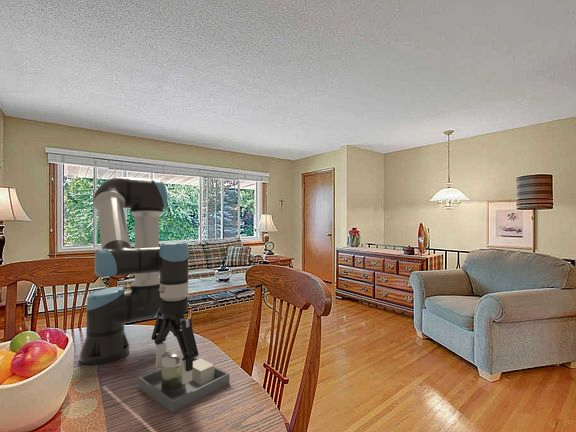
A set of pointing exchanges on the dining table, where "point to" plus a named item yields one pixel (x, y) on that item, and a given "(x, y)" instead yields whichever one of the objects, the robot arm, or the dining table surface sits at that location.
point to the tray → (191, 394)
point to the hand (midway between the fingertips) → (173, 373)
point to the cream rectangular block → (202, 371)
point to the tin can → (172, 373)
